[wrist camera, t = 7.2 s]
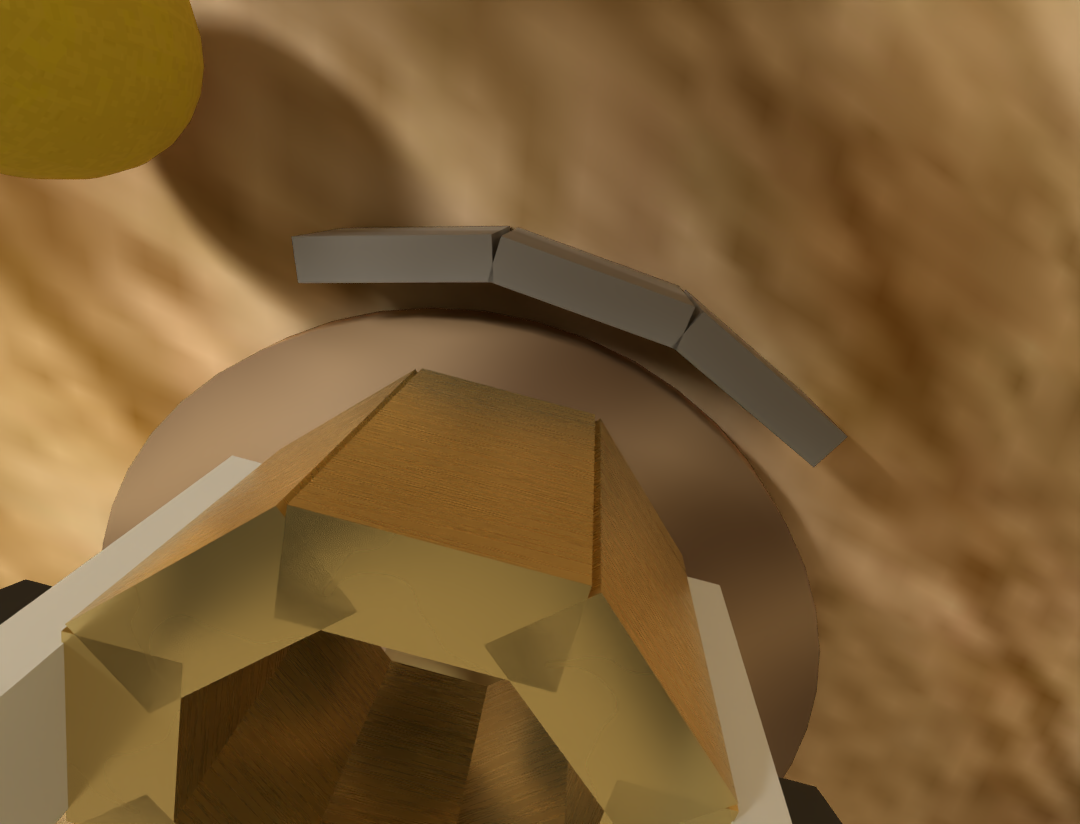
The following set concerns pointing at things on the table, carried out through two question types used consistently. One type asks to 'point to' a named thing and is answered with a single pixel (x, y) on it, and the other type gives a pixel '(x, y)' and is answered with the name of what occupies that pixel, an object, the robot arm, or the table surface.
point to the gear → (405, 636)
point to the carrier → (550, 375)
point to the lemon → (94, 84)
